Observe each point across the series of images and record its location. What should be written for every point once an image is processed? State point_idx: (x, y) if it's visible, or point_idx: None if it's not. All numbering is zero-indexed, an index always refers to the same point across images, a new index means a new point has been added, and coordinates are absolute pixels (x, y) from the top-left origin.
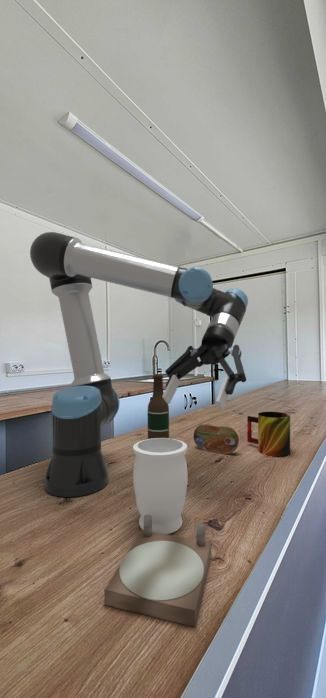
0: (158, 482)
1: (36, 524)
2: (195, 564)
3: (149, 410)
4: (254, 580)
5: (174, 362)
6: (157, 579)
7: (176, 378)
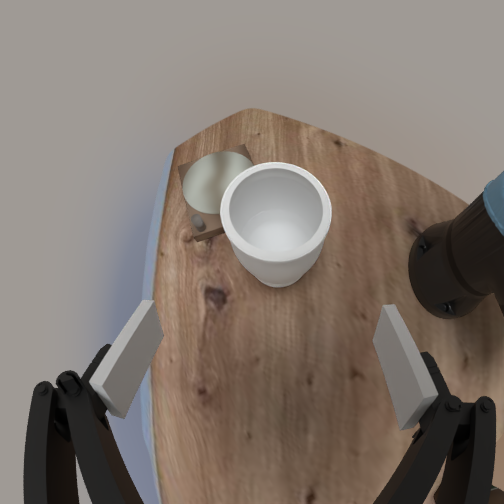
0: (251, 194)
1: (387, 180)
2: (193, 197)
3: (496, 490)
4: (153, 233)
5: (492, 464)
6: (213, 168)
7: (412, 403)
